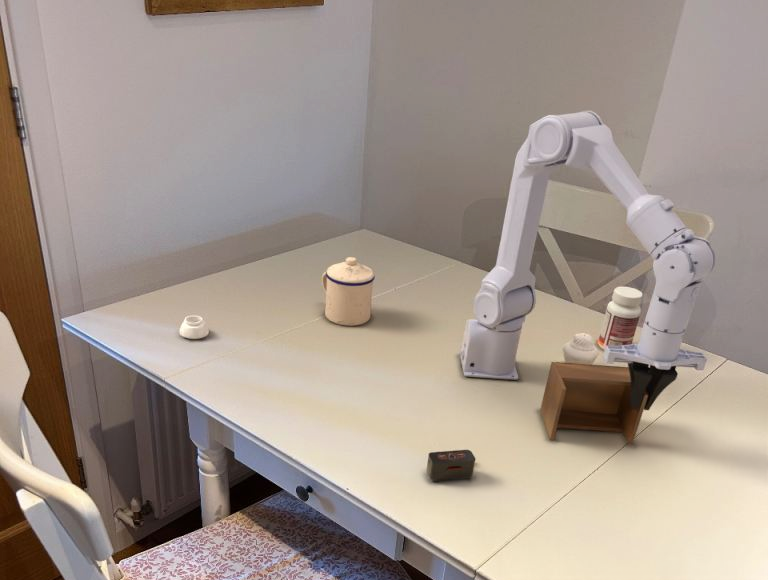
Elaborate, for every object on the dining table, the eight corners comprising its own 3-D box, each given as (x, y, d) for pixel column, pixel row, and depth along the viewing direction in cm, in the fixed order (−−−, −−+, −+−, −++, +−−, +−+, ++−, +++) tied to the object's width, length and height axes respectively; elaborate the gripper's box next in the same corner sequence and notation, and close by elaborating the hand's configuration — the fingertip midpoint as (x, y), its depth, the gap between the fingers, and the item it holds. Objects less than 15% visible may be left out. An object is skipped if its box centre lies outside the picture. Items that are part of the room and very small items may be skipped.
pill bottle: (636, 351, 149) (653, 295, 143) (614, 357, 146) (630, 301, 140) (612, 337, 153) (627, 283, 147) (590, 343, 150) (604, 288, 144)
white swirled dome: (559, 374, 139) (567, 338, 135) (558, 358, 144) (566, 323, 140) (594, 379, 138) (604, 344, 134) (592, 363, 143) (601, 329, 139)
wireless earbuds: (478, 478, 111) (482, 460, 109) (430, 483, 109) (433, 464, 107) (467, 459, 114) (471, 441, 112) (421, 463, 112) (423, 445, 111)
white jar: (204, 342, 137) (212, 330, 141) (203, 327, 136) (211, 315, 140) (176, 338, 137) (184, 326, 141) (174, 323, 136) (183, 311, 140)
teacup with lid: (380, 319, 151) (386, 261, 145) (346, 331, 146) (349, 271, 139) (339, 297, 158) (342, 241, 151) (304, 308, 152) (306, 250, 146)
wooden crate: (618, 415, 128) (632, 444, 121) (539, 410, 127) (549, 439, 120) (632, 367, 123) (648, 394, 116) (551, 361, 122) (562, 388, 115)
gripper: (622, 333, 107) (598, 417, 115) (725, 341, 108) (695, 423, 116) (609, 311, 113) (587, 392, 121) (707, 319, 114) (679, 399, 122)
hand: (639, 406), depth 119 cm, fingers closed
